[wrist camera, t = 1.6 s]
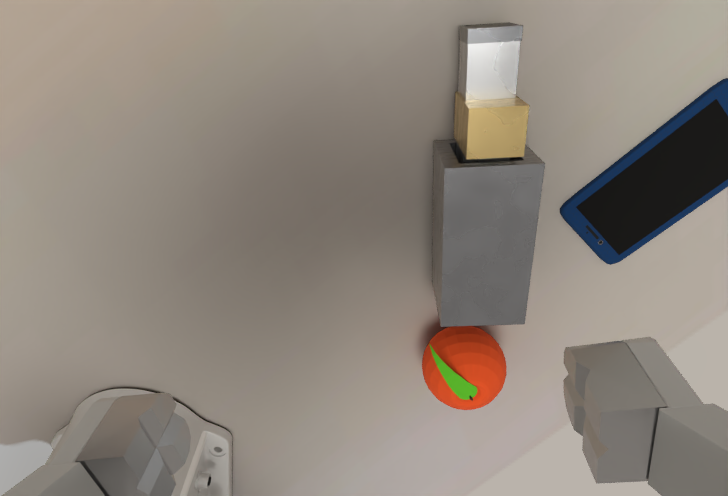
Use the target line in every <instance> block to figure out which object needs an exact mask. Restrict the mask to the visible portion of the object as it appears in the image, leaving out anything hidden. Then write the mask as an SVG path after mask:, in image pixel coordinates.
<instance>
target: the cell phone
mask: <svg viewBox="0 0 728 496" xmlns="http://www.w3.org/2000/svg"><path fill="white" fill-rule="evenodd" d="M726 187H728V78H726V79H723V80H721V81H720V82H718V83H717V84H715V85H714V86H712V87H711V88H710V89H708V90H707V91H706V92H704V93H703V94H702V95H701V96H699V97H698V98H697V99H695V100H694V101H693V102H692V103H690V104H689V105H688V106H687V107H685V108H684V109H683V110H681V111H680V112H679V113H678V114H676V115H675V116H674V117H673V118H671V119H670V120H669V121H667V122H666V123H665V124H664V125H662V126H661V127H660V128H659V129H657V130H656V131H655V132H653V133H652V134H651V135H650V136H648V137H647V138H646V139H644V140H643V141H642V142H641V143H639V144H638V145H637V146H636V147H634V148H633V149H632V150H630V151H629V152H628V153H627V154H625V155H624V156H623V157H622V158H620V159H619V160H618V161H616V162H615V163H614V164H613V165H611V166H610V167H609V168H607V169H606V170H605V171H604V172H602V173H601V174H600V175H599V176H597V177H596V178H595V179H593V180H592V181H591V182H590V183H588V184H587V185H586V186H585V187H583V188H582V189H581V190H579V191H578V192H577V193H576V194H574V195H573V196H572V197H571V198H570V199H568V200H567V201H566V202H565V203H564V204H563V205H562V206H561V208H560V214H561V215H562V217H563V218H564V220H565V221H566V222H567V223H568V224H569V225H570V226H571V227H572V228H573V229H574V231H575V232H576V233H577V234H578V235H579V236H580V237H581V238H582V239H583V240H584V241H585V242H586V244H587V245H588V246H589V247H590V248H591V249H592V250H593V251H594V252H595V253H596V254H597V255H598V257H599V258H600V259H602V260H603V261H604V262H606V263H607V264H614V263H617V262H620V261H621V260H623V259H624V258H626V257H627V256H629V255H630V254H631V253H633V252H634V251H636V250H637V249H639V248H640V247H641V246H643V245H644V244H646V243H647V242H649V241H650V240H652V239H653V238H654V237H656V236H657V235H659V234H660V233H662V232H663V231H664V230H666V229H667V228H669V227H670V226H672V225H673V224H675V223H676V222H677V221H679V220H680V219H682V218H683V217H685V216H686V215H687V214H689V213H690V212H692V211H693V210H695V209H696V208H697V207H699V206H700V205H702V204H703V203H705V202H706V201H708V200H709V199H710V198H712V197H713V196H715V195H716V194H718V193H719V192H720V191H722V190H723V189H725V188H726Z"/></svg>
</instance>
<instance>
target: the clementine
mask: <svg viewBox="0 0 728 496" xmlns="http://www.w3.org/2000/svg"><path fill="white" fill-rule="evenodd" d="M422 369H423V376H424V379H425V382H426V384H427V386H428V388H429V389H430V391H431V392H432V393H433V394H434V395H435V397H436V398H437V399H438V400H440V401H441V402H443V403H445V404H446V405H448V406H450V407H453V408H456V409H462V410H471V409H476V408H480V407H483V406H485V405H487V404H488V403H490V402H491V401H492V400H493V399H494V398H495V397H496V396H497V395H498V393H499V392H500V391H501V389H502V387H503V384H504V381H505V377H506V361H505V357H504V354H503V351H502V349H501V348H500V346H499V344H498V343H497V342H496V341H495V339H494V338H493V337H492V336H490V335H489V334H488V333H486V332H485V331H483V330H482V329H480V328H477V327H474V326H451V327H448V328H445V329H444V330H442V331H440V332H438V333H437V334H436V335H435V336H434V337H433V338H432V339H431V340H430V342H429V344H428V345H427V347H426V349H425V351H424V355H423V361H422Z"/></svg>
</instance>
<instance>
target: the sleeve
mask: <svg viewBox="0 0 728 496" xmlns="http://www.w3.org/2000/svg"><path fill="white" fill-rule="evenodd" d="M544 167H545V163H544V162H543V161H542V160H541V159H540V158H539V157H538V156H537V155H536V154H535V153H534V152H533V151H532V150H531V149H530V148H529V147H528V146H527V145H526V144H525V151H524V157H510V161H501V162H480V163H460V164H459V162H458V160H457V158H456V139H455V140H436V141H434V145H433V230H432V284H433V289H434V294H435V300H436V305H437V310H438V315H439V320H440V325H441V327H450V326H481V325H512V324H525V316H526V308H527V300H528V293H529V285H530V277H531V269H532V261H533V253H534V246H535V238H536V230H537V222H538V214H539V206H540V199H541V191H542V183H543V175H544Z"/></svg>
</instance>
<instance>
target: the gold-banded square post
mask: <svg viewBox="0 0 728 496" xmlns="http://www.w3.org/2000/svg"><path fill="white" fill-rule="evenodd" d="M522 32H523V25H518V24H513V23H496V24H480V25H464V26H460V29H459V40H460V56H459V84H458V92H455V118H454V138H455V139H456V158H457V160H458V162H459V164H460V163H480V162H501V161H510V157H524V151H525V141H526V132H527V122H528V113H529V105H528V104H527V103H525V102H524V101H523V100H521V99H520V98H518V97H517V96H516V85H517V74H518V63H519V52H520V41H522Z"/></svg>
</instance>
